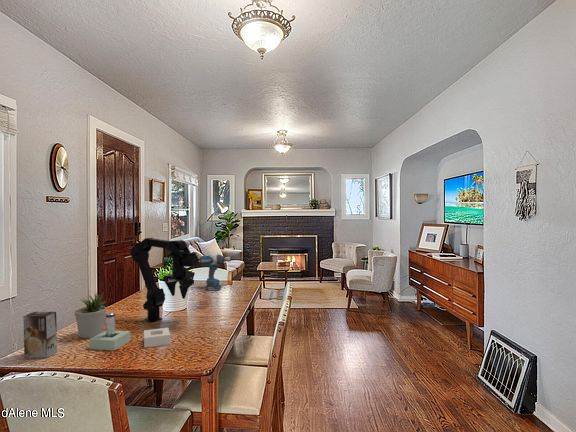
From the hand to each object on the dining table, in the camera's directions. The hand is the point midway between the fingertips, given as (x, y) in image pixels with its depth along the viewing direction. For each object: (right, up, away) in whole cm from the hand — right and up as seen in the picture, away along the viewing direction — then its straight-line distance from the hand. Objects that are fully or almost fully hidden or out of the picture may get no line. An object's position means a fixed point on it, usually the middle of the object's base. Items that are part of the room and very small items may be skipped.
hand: (178, 297), depth 175 cm
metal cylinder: (-20, -13, -28) cm, 37 cm away
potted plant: (-34, -14, -17) cm, 40 cm away
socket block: (-2, -13, -25) cm, 28 cm away
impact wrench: (+3, -12, +75) cm, 76 cm away
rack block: (-20, -13, -28) cm, 37 cm away
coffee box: (-42, -14, -38) cm, 58 cm away
